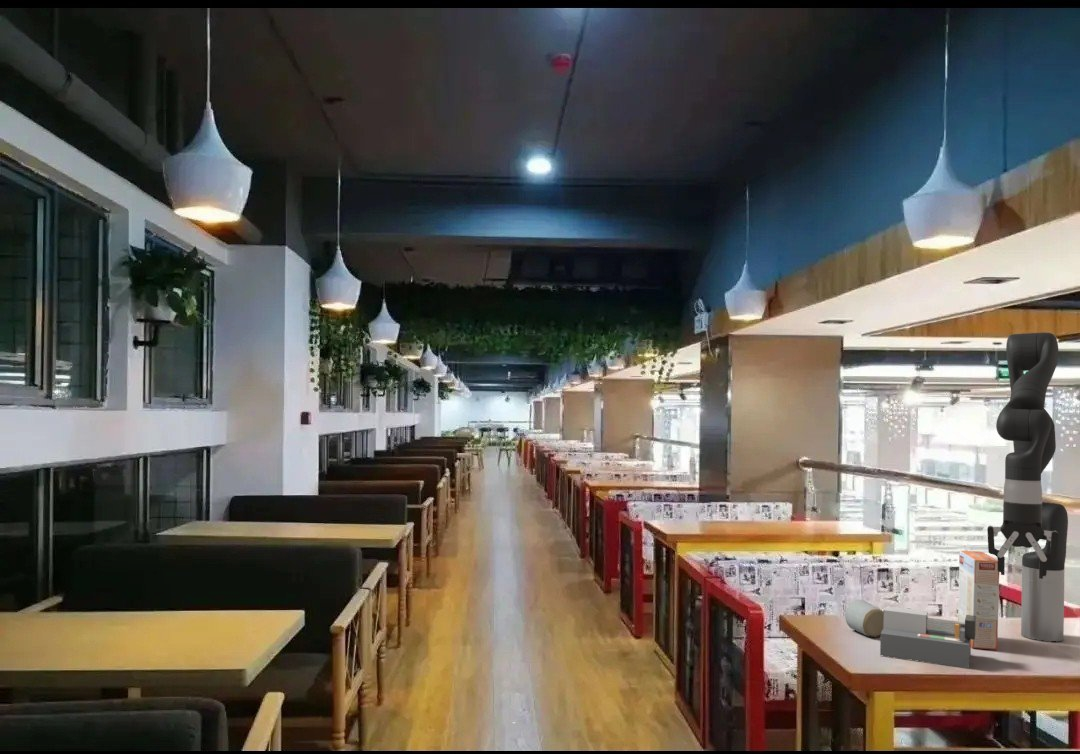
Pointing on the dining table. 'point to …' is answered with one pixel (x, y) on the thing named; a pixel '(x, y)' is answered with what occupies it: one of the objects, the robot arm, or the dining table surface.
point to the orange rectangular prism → (957, 631)
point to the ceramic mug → (865, 618)
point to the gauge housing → (921, 639)
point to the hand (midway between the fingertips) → (1021, 576)
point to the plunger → (965, 628)
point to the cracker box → (979, 596)
